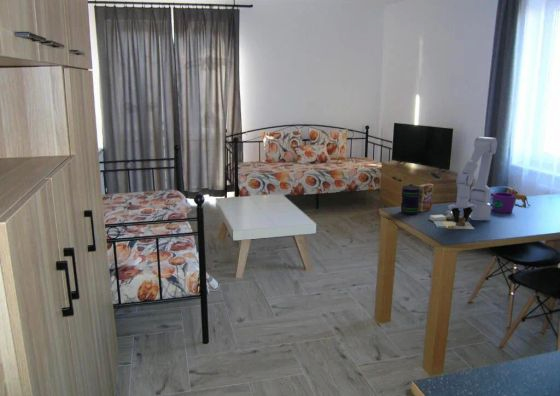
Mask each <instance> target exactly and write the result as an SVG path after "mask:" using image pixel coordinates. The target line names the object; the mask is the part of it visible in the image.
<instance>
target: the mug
mask: <svg viewBox="0 0 560 396" xmlns="http://www.w3.org/2000/svg"><path fill="white" fill-rule="evenodd" d="M491 197H492V203H490V205H491V209H492V210H493V211H494V212H495V213H499V214H510V213H512V212H513V210H514V206H515V203H516V202H515V195H514V194H511V193H507V192H501V191H500V192H498V191H497V192H494V193H492V192H491ZM514 202H515V203H514Z"/></svg>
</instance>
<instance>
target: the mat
mask: <svg viewBox="0 0 560 396" xmlns="http://www.w3.org/2000/svg"><path fill="white" fill-rule="evenodd" d="M432 222H433V223H434V225H435V227H436V228H437V229H447V230H448V229H451V230H452V229H453V230H458V229H459V230H475V227H474V226H472V224H471V223H470V222H469V221H467V222H465V226H457V225H456V222H454V221H450V220H449V221H447V220H446V221H432Z"/></svg>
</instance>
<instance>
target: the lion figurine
mask: <svg viewBox="0 0 560 396" xmlns="http://www.w3.org/2000/svg"><path fill="white" fill-rule="evenodd" d="M506 193H511V194H514V195H515V202H514V204H515V203H516V202H517V200H518V201H521V202H522V205H523V207H527V205H528V207H531V204H529V202H528V197H527V195H526V194H523V193H522V194H521V193H519V192H518V191H517V190H515V189H513V188H511V187H510V188H507V191H506Z"/></svg>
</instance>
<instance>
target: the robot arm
mask: <svg viewBox="0 0 560 396" xmlns="http://www.w3.org/2000/svg"><path fill="white" fill-rule="evenodd" d="M473 147H474V149H473V152H472V155H471V157H470V160H468V161H466V163H465V164H464V166H463V168H462V170H461V172H459V173H458V174H457V175H456V179H455V182H456V187H457V192H456V203H454V204H448V206H447V209H448V210H449V211H452V213H453V216H454V220H453V222H456V223H458V219H459V214H460V213H461V210H462V209H463V210H462V211H463V217H465V218H466V220H465V222H468V219H470V220H471V221H491V213H492V212H491V211H492V206H491V205H490V204H491V203H490V202H491V198H492V196H491V193H492V190H491V188H490V187H489V186H488V185H487V184H488V181H489V175H490V171H491V165H492V164H491V163H492V159H493V155H495V154H496V152H497V148H498V140H497V137H487V136H476V137H475V139H474V143H473ZM479 160H480V165H478V162H479ZM478 166H479V169H478V175H477V179H476V184H474V185H472V184H473V182H474V178H475V177H474V176H475V175H474V174H476V173H475V172H476V171H477V168H478ZM471 185H472V186H471ZM470 187H471V188H470ZM469 200H470V201H469ZM460 209H461V210H460Z"/></svg>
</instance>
